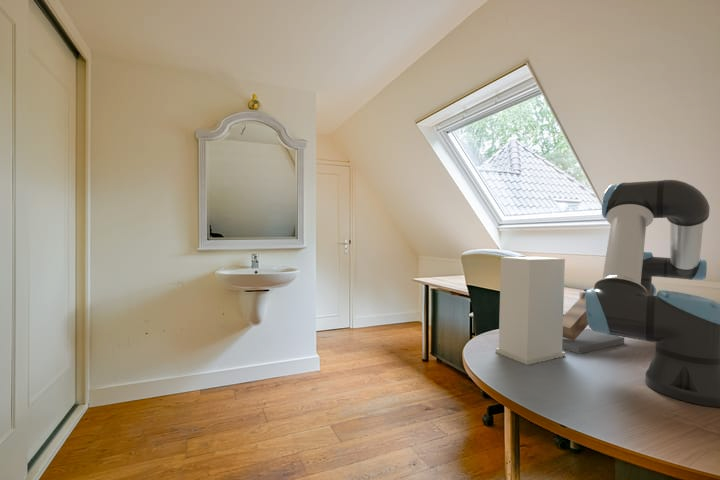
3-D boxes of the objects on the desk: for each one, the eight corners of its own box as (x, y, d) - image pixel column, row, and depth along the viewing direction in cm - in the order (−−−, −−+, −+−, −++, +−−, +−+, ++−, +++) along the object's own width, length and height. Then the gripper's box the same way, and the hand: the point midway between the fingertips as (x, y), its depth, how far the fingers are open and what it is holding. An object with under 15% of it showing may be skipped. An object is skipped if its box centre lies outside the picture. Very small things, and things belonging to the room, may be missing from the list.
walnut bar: (595, 296, 123) (592, 285, 122) (610, 299, 119) (607, 287, 118) (559, 336, 114) (555, 324, 113) (574, 340, 110) (569, 328, 109)
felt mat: (587, 333, 127) (587, 328, 127) (624, 343, 117) (624, 337, 117) (543, 342, 116) (543, 336, 116) (578, 353, 105) (579, 347, 105)
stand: (532, 345, 113) (534, 256, 112) (565, 356, 103) (567, 258, 102) (495, 352, 105) (498, 257, 105) (527, 364, 95) (530, 259, 94)
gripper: (654, 307, 119) (617, 313, 109) (599, 298, 136) (563, 302, 125) (654, 286, 119) (618, 290, 109) (599, 279, 135) (563, 283, 125)
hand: (589, 297), depth 117 cm, fingers closed on walnut bar, 5 cm apart
